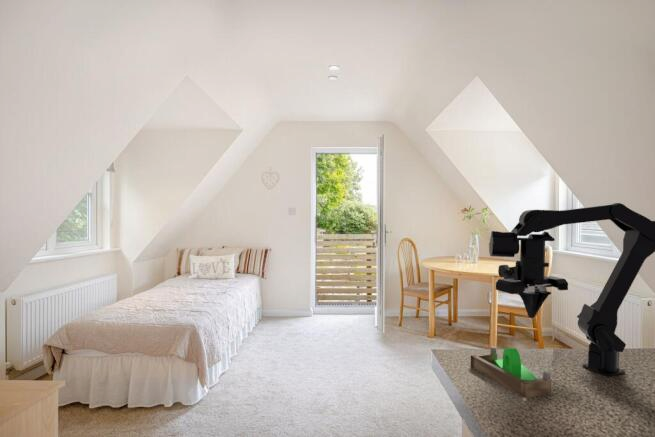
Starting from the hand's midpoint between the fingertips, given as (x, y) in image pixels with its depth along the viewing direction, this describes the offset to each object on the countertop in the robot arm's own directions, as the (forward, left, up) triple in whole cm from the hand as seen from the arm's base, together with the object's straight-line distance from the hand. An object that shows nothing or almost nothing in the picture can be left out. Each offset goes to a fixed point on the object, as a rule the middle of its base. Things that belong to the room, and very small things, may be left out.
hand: (531, 317), depth 101 cm
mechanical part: (+10, +5, -12) cm, 17 cm away
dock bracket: (+13, +6, -12) cm, 19 cm away
